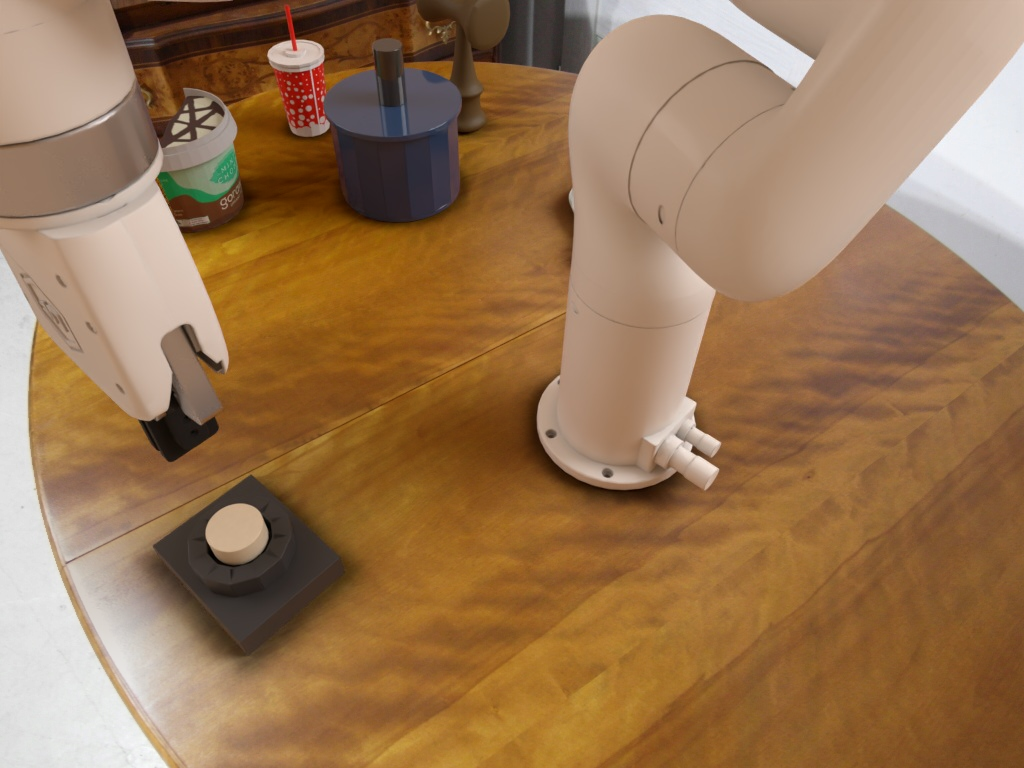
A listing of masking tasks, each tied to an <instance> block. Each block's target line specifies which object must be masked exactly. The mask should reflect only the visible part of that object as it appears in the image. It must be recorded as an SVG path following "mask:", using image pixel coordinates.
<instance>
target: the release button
mask: <svg viewBox="0 0 1024 768" xmlns="http://www.w3.org/2000/svg"><path fill="white" fill-rule="evenodd" d="M268 538H269V533H268V529H267V527H266V524H265V522H264V520H263V517H262V515H261V513H260V512H259V511H258V510H257V509H256V508H255V507H253V506H251V505H248V504H233V505H229V506H226V507H224V508H222V509H221V510H219V511H218V512H217V513H215V514H214V515H213V516H212V518H211V519H210V520H209V522H208V524H207V527H206V539H207V542H208V544H209V545H210V547H211V549H212V551H213V553H214V555H215V556H216V558H217V559H218V560H220V561H221V562H223V563H225V564H229V565H241V564H245V563H248V562H250V561H252V560H254V559H255V558H256V557H258V556H259V555H260V554H261V553H262V552H263V550H264V549H265V547H266V545H267V543H268Z"/></svg>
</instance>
